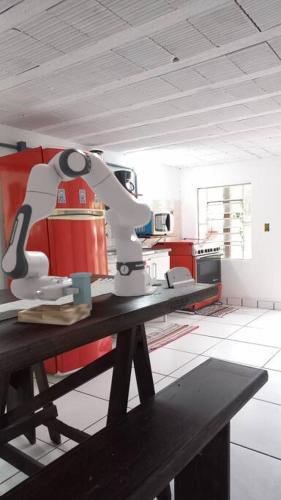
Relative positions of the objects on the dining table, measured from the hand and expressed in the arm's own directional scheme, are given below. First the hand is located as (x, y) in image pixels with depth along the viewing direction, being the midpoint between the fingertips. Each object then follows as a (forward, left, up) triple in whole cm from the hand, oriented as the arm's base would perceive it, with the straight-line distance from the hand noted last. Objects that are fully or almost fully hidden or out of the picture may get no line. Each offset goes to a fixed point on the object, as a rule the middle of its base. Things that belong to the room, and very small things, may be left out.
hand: (84, 289), depth 119 cm
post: (0, -1, -8) cm, 8 cm away
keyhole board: (+11, -4, -8) cm, 14 cm away
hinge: (-59, +16, -8) cm, 62 cm away
